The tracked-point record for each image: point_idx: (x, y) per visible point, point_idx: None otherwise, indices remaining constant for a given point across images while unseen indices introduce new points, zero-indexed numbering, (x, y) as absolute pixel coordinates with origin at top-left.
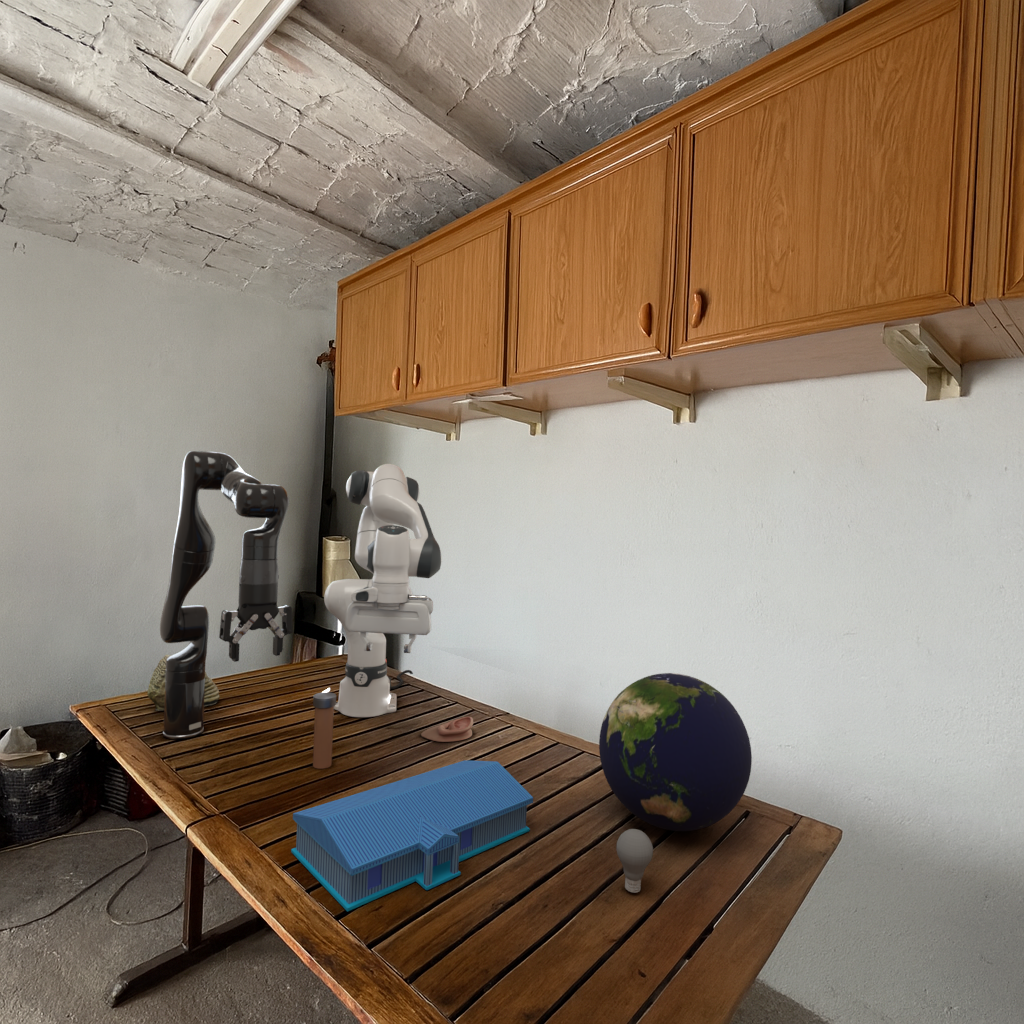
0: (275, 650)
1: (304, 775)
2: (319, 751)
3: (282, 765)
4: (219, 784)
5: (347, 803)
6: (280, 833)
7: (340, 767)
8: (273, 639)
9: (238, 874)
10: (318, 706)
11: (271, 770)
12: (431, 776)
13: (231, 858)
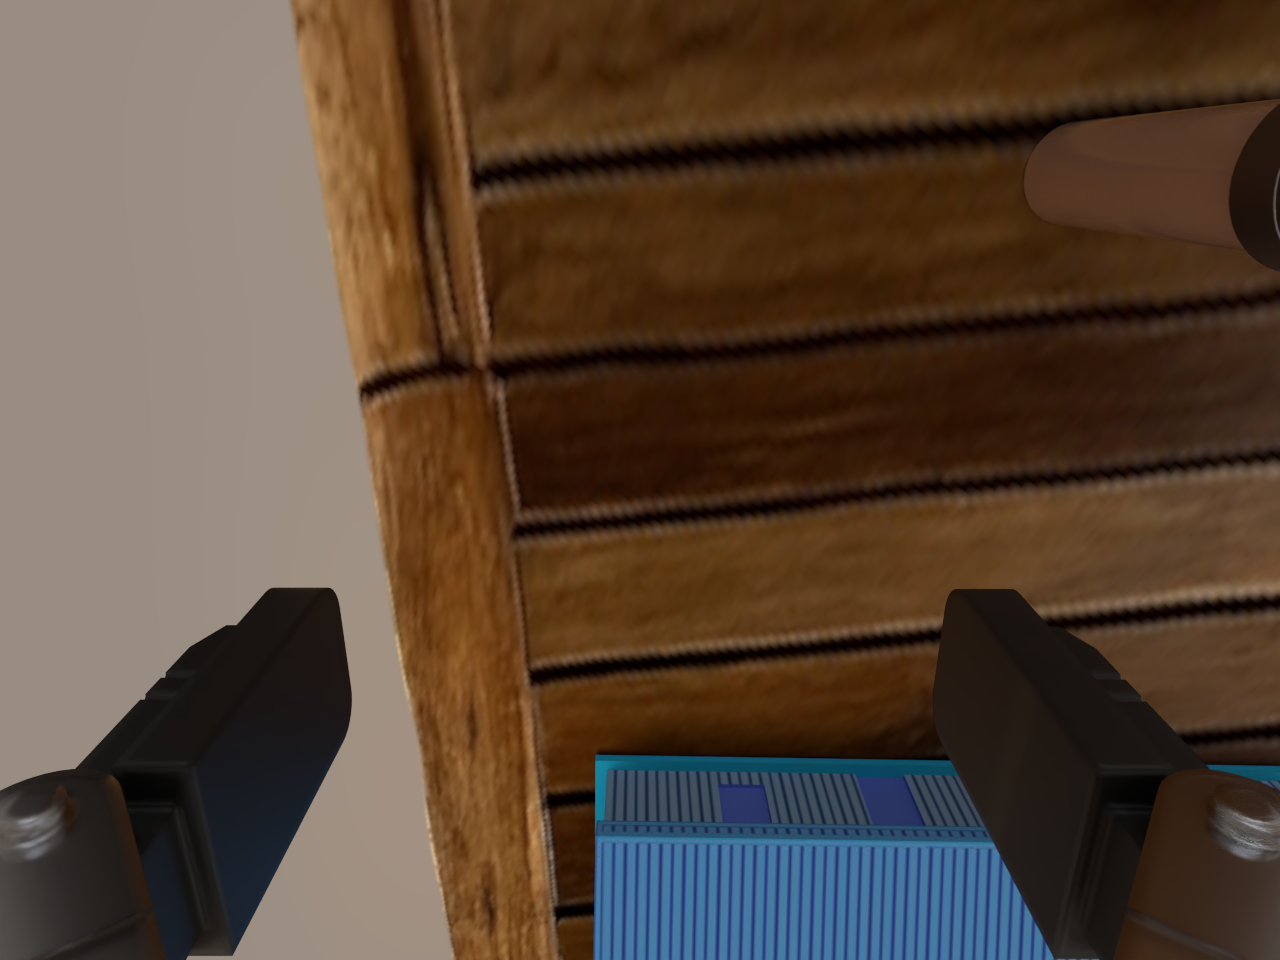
0: (964, 720)
1: (935, 237)
2: (1076, 213)
3: (919, 36)
4: (569, 67)
5: (748, 957)
6: (618, 635)
7: (1118, 261)
8: (1067, 745)
9: (430, 760)
10: (1240, 231)
11: (843, 65)
12: None
13: (436, 678)
